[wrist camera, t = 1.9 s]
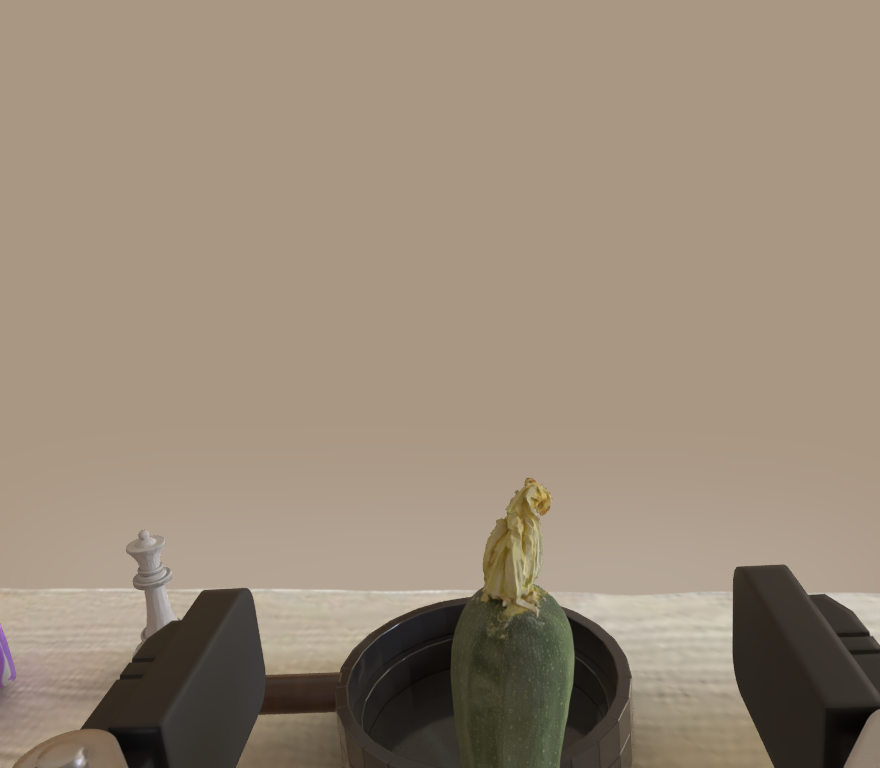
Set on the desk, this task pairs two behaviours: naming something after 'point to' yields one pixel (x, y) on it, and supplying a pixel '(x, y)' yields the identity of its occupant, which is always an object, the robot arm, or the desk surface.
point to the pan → (431, 702)
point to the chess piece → (152, 582)
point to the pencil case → (5, 662)
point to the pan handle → (300, 693)
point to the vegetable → (513, 651)
